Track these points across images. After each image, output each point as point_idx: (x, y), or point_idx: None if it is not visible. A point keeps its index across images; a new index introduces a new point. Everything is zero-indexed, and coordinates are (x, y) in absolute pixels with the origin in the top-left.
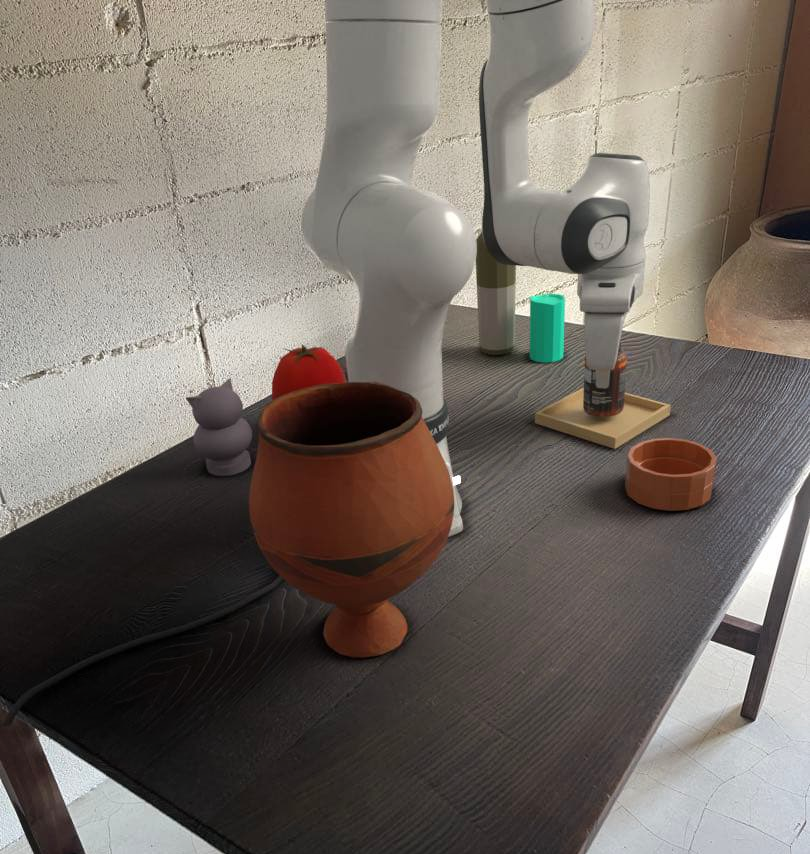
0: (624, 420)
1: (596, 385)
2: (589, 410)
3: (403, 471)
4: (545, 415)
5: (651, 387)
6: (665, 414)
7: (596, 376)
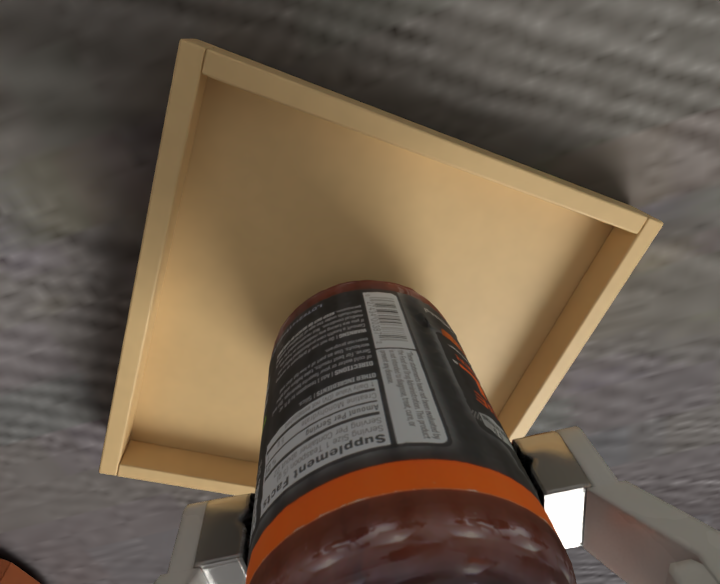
0: None
1: (184, 513)
2: (278, 337)
3: None
4: (172, 120)
5: (691, 398)
6: None
7: (168, 571)
